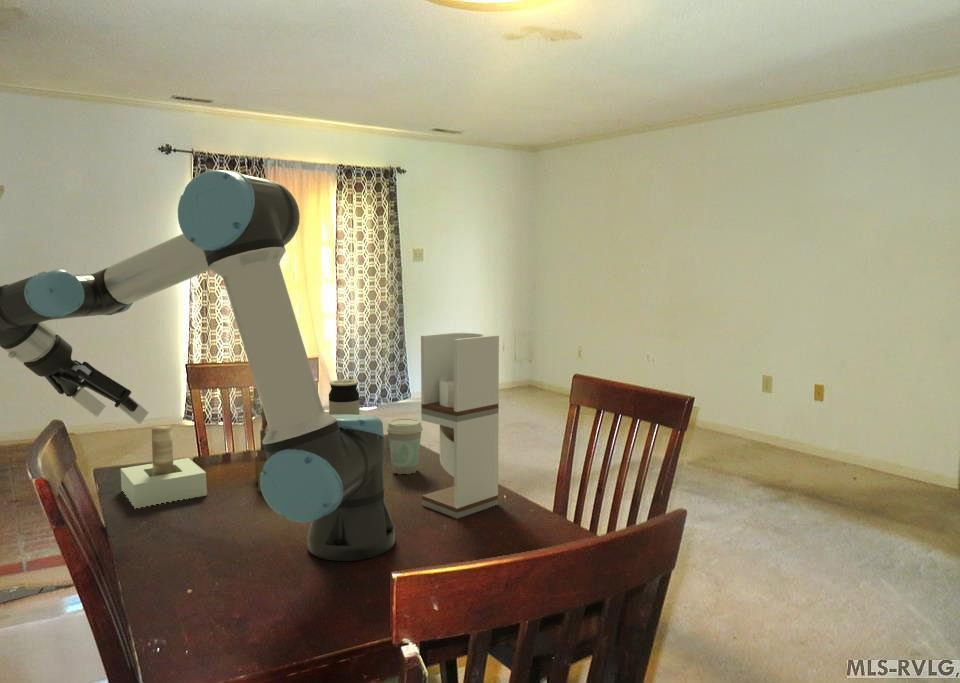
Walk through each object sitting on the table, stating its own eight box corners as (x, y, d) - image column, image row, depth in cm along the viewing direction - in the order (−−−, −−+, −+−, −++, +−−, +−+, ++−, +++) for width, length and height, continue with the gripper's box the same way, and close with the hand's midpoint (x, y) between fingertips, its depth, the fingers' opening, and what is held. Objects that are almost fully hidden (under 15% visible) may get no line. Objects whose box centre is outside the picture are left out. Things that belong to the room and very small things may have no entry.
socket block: (206, 495, 149) (205, 472, 148) (135, 509, 140) (133, 484, 140) (189, 479, 160) (188, 457, 159) (121, 490, 151) (120, 468, 151)
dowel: (177, 491, 151) (176, 427, 150) (161, 495, 147) (160, 430, 146) (165, 488, 153) (164, 425, 151) (149, 492, 149) (147, 428, 148)
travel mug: (365, 448, 187) (363, 382, 185) (337, 453, 182) (335, 385, 180) (352, 442, 193) (351, 378, 191) (325, 446, 188) (323, 381, 186)
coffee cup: (379, 472, 165) (378, 422, 164) (403, 464, 172) (402, 416, 171) (406, 478, 161) (406, 427, 159) (430, 469, 168) (429, 420, 166)
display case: (462, 492, 151) (462, 331, 147) (498, 504, 143) (498, 335, 140) (422, 505, 143) (420, 335, 139) (457, 518, 135) (456, 339, 132)
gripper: (-13, 360, 129) (72, 423, 144) (66, 369, 118) (150, 437, 132) (15, 329, 134) (95, 394, 148) (95, 335, 122) (173, 404, 136)
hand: (121, 414), depth 140 cm, fingers open, 13 cm apart
